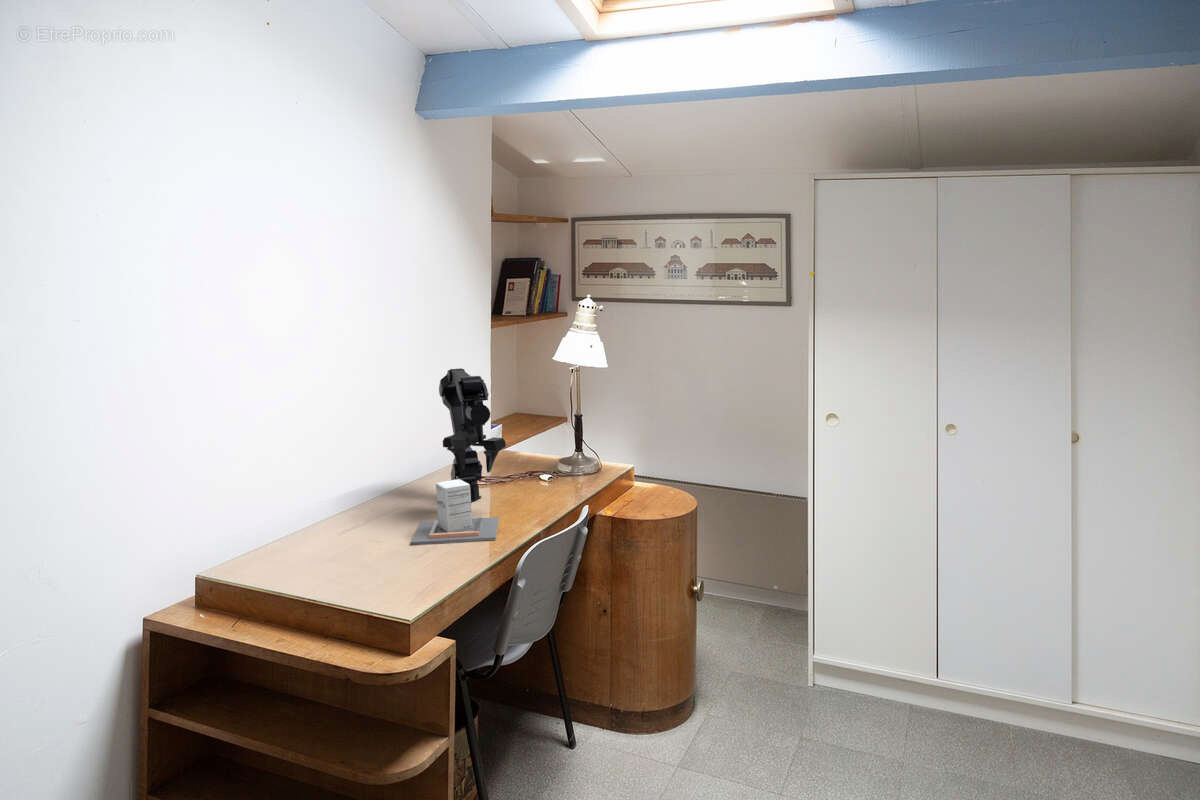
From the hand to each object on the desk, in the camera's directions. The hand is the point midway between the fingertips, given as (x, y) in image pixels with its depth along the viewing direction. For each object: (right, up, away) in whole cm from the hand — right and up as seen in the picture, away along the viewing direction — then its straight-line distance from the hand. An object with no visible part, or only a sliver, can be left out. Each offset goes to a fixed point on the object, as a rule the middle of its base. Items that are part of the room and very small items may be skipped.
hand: (475, 471), depth 234 cm
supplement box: (-3, -14, -17) cm, 22 cm away
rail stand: (-2, -15, -18) cm, 23 cm away
